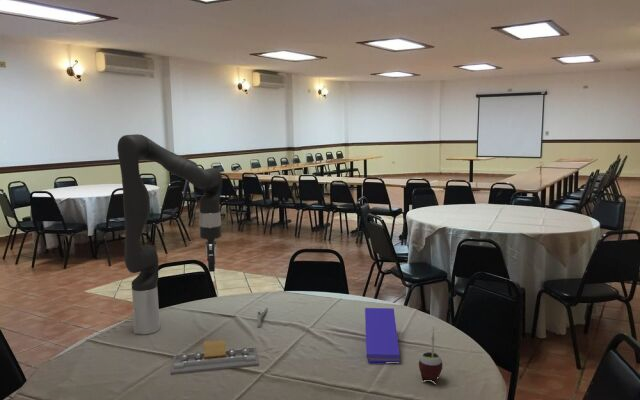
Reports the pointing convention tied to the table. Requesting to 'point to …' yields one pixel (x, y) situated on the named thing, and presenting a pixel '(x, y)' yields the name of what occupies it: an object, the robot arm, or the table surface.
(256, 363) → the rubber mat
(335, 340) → the table surface
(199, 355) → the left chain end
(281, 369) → the table surface
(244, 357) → the grey studded track end
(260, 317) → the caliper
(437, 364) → the mate gourd
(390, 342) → the stapler
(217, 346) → the tall wooden block
